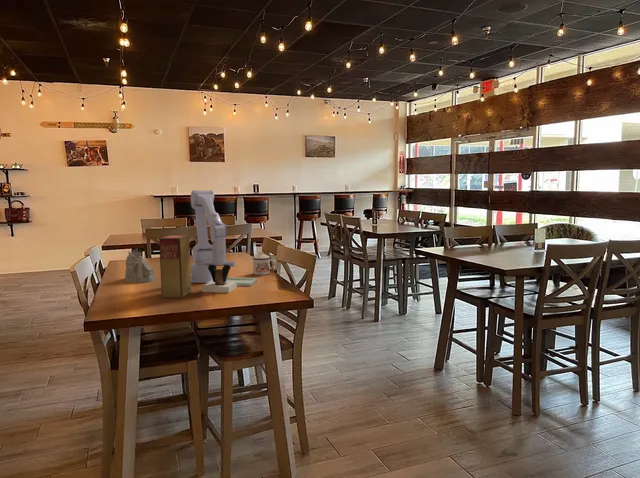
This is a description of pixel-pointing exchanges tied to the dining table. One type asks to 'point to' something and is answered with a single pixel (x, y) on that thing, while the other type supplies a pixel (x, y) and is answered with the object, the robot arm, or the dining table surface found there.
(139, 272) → the grey castle model
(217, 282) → the walnut pin
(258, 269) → the teacup with lid
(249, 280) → the sage tray
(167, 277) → the food packaging
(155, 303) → the dining table surface
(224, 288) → the holder block
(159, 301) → the dining table surface
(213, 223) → the robot arm
